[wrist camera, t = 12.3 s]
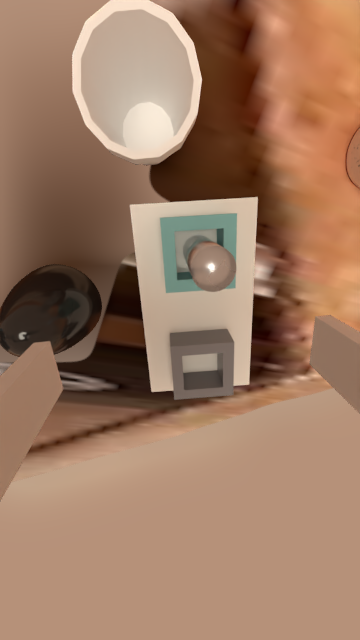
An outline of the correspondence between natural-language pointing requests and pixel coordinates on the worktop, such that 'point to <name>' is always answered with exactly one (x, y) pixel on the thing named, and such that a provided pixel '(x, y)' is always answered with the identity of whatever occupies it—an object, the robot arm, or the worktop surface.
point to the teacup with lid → (354, 159)
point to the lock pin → (209, 263)
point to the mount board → (195, 304)
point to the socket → (221, 222)
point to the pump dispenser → (49, 310)
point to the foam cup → (136, 80)
